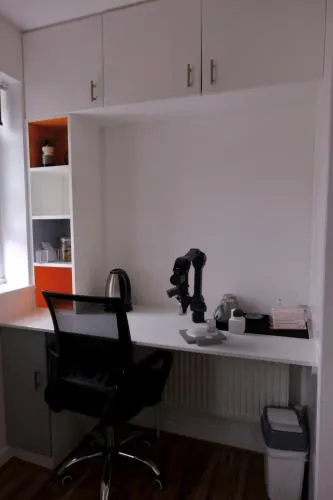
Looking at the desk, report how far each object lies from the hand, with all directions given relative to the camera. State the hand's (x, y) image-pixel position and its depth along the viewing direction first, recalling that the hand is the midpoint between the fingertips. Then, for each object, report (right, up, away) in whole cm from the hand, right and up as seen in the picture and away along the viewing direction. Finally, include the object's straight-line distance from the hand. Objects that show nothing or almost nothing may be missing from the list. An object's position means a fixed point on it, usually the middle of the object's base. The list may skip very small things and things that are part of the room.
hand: (182, 312), depth 167 cm
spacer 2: (+14, -10, 0) cm, 17 cm away
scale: (+10, -12, -3) cm, 16 cm away
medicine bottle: (+29, -11, +5) cm, 31 cm away
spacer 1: (0, -1, 0) cm, 1 cm away
